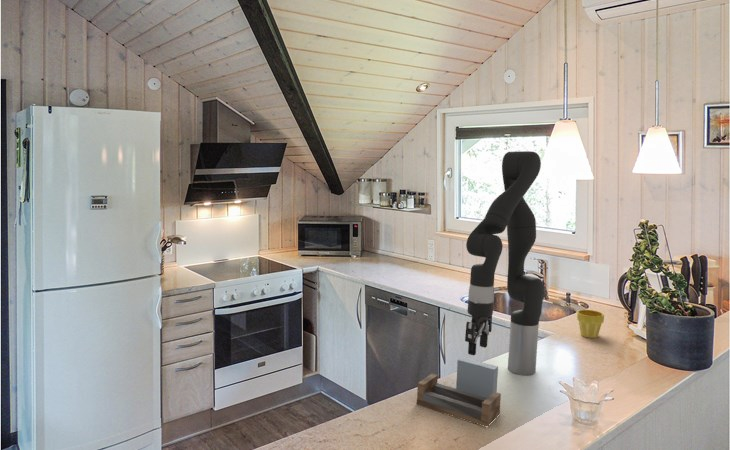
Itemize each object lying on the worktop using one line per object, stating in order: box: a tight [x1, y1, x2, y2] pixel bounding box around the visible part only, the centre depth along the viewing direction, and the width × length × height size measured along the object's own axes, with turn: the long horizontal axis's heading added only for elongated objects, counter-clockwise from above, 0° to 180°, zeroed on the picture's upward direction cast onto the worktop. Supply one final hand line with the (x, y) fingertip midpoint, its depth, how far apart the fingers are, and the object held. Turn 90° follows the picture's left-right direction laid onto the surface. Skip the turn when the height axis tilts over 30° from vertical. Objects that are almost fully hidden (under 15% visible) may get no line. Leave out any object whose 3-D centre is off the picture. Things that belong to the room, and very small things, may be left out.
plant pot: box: [576, 309, 605, 339], centre depth 217 cm, size 10×10×10 cm
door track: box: [416, 373, 502, 427], centre depth 150 cm, size 9×22×6 cm, turn 54°
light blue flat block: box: [455, 356, 499, 398], centre depth 161 cm, size 3×12×10 cm, turn 54°
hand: (477, 350), depth 159 cm, fingers open, 8 cm apart
